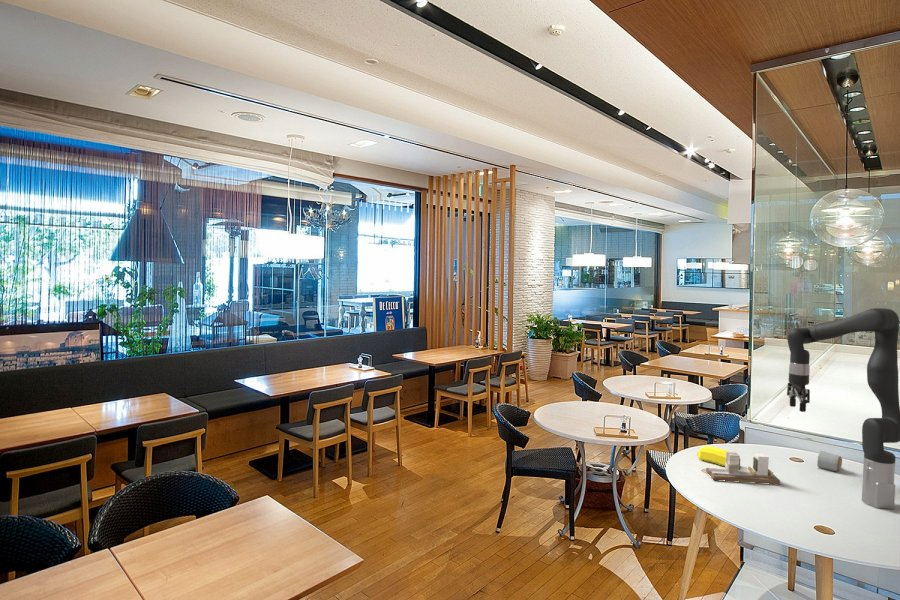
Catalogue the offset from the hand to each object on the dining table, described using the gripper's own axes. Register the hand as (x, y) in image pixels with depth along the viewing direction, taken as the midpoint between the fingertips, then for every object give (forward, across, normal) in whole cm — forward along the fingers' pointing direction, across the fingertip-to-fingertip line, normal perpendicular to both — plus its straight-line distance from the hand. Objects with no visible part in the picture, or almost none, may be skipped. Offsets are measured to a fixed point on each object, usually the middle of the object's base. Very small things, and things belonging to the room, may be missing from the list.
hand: (797, 408), depth 227 cm
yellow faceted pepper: (+29, +5, +31) cm, 42 cm away
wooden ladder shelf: (+28, -13, +27) cm, 41 cm away
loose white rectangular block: (+26, -13, +20) cm, 35 cm away
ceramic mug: (+28, +6, -17) cm, 34 cm away
